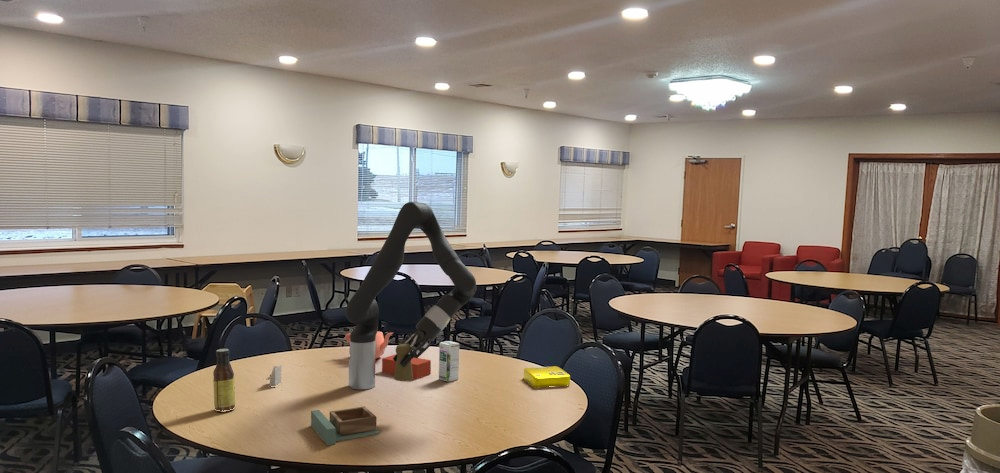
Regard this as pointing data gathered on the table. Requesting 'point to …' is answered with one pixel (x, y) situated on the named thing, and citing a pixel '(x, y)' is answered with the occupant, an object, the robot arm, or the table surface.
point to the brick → (418, 365)
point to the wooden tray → (353, 420)
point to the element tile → (546, 376)
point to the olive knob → (400, 371)
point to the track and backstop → (332, 429)
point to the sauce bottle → (223, 382)
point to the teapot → (376, 343)
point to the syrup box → (448, 361)
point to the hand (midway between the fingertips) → (398, 363)
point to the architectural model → (275, 376)
